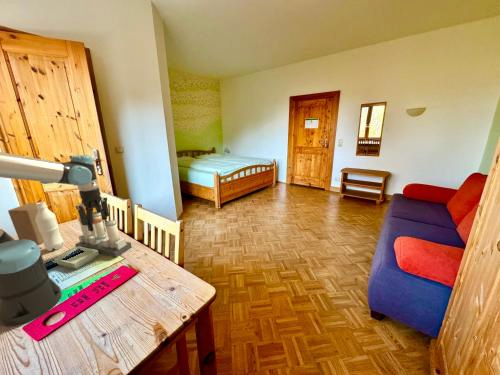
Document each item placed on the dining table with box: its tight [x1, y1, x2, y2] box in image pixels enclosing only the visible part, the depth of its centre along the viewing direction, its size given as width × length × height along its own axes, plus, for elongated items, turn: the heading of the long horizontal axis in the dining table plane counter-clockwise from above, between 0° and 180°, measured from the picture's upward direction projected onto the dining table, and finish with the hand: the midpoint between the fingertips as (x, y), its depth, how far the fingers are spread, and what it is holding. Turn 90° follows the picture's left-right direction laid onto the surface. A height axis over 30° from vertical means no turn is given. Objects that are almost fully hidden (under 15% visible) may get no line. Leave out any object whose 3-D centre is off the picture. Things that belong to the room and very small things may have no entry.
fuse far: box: [77, 217, 92, 243], centre depth 103 cm, size 5×5×13 cm
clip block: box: [74, 233, 132, 259], centre depth 103 cm, size 9×26×6 cm, turn 73°
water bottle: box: [35, 201, 65, 252], centre depth 101 cm, size 7×7×25 cm
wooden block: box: [7, 202, 44, 246], centre depth 110 cm, size 10×10×20 cm
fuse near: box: [105, 219, 121, 249], centre depth 99 cm, size 5×5×13 cm
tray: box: [53, 246, 101, 271], centre depth 95 cm, size 10×13×3 cm
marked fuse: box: [93, 211, 107, 240], centre depth 100 cm, size 5×5×13 cm
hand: (99, 233), depth 101 cm, fingers closed on marked fuse, 4 cm apart
